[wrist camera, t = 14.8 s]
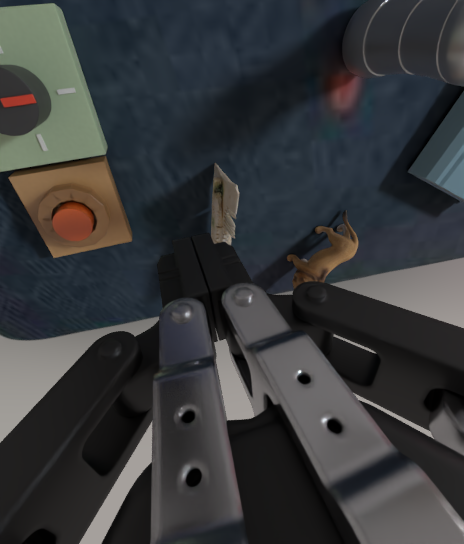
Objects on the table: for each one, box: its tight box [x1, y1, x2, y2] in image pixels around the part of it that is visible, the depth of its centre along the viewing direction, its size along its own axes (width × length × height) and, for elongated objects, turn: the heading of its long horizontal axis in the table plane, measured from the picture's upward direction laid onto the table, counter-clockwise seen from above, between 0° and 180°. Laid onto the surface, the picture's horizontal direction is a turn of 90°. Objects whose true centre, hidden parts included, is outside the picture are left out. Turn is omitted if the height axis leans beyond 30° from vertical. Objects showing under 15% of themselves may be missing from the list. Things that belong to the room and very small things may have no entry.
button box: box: [8, 156, 132, 258], centre depth 32 cm, size 10×9×4 cm
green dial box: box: [0, 3, 107, 172], centre depth 25 cm, size 11×10×3 cm
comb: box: [211, 163, 239, 245], centre depth 35 cm, size 15×2×10 cm, turn 177°
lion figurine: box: [287, 210, 358, 289], centre depth 43 cm, size 15×5×9 cm, turn 143°
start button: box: [52, 202, 94, 241], centre depth 30 cm, size 4×4×2 cm
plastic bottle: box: [342, 0, 464, 87], centre depth 24 cm, size 6×7×20 cm
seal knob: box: [0, 65, 51, 136], centre depth 22 cm, size 4×4×5 cm
